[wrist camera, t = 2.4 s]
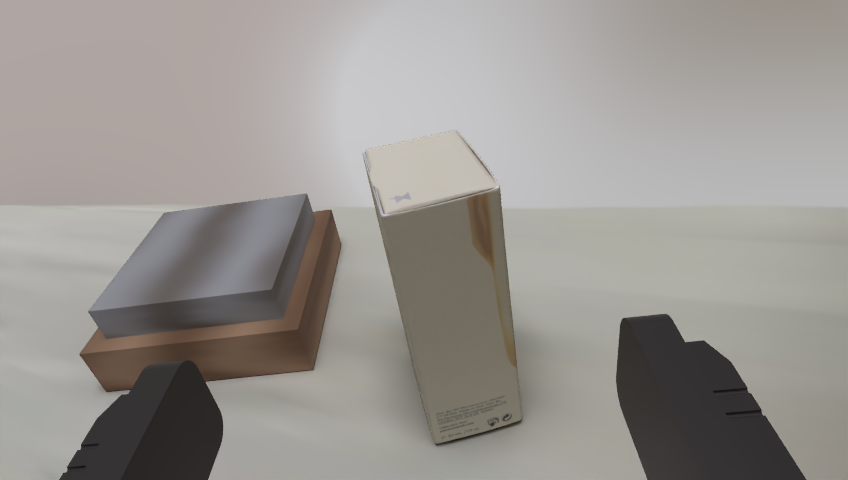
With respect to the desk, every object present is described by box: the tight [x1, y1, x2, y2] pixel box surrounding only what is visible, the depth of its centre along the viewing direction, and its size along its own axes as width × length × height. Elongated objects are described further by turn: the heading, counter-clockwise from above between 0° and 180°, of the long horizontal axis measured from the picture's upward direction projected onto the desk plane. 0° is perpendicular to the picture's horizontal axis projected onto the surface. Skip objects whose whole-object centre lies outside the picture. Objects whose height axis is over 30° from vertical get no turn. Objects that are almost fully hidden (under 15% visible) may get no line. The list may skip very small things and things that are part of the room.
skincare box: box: [363, 130, 522, 444], centre depth 24 cm, size 6×4×12 cm
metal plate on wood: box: [80, 194, 341, 392], centre depth 34 cm, size 12×12×5 cm
